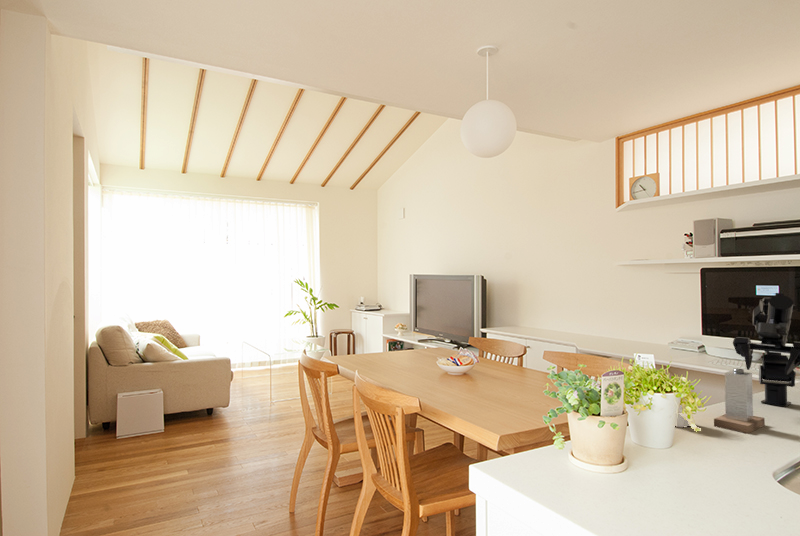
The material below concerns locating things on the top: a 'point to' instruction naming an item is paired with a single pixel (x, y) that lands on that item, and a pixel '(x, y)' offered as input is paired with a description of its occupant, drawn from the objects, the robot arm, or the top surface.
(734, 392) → the housing
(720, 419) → the plinth
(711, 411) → the top surface
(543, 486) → the top surface
